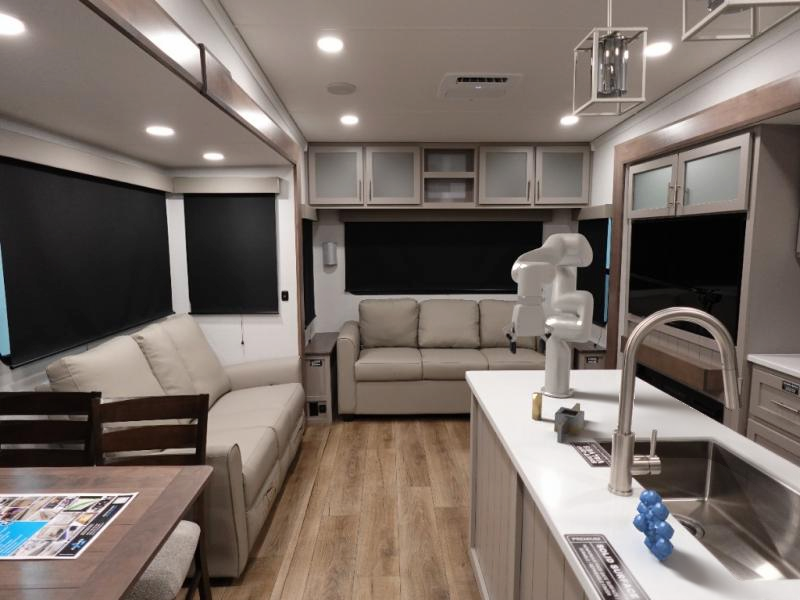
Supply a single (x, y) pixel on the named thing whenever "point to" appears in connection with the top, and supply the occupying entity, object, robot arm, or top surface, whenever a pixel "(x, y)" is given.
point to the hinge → (568, 422)
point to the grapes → (654, 524)
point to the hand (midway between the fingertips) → (527, 352)
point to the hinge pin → (537, 406)
